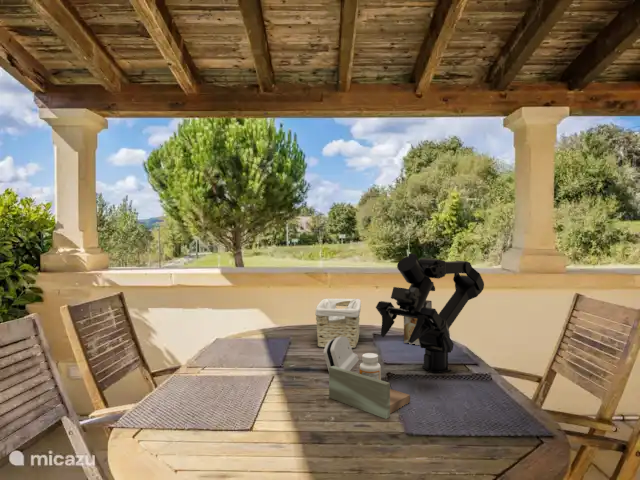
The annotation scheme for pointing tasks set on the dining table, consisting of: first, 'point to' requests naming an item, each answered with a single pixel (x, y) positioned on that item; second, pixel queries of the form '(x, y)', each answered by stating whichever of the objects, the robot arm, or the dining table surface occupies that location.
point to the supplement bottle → (370, 366)
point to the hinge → (340, 354)
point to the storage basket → (338, 320)
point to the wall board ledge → (365, 392)
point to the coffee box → (412, 326)
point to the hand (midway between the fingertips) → (395, 339)
